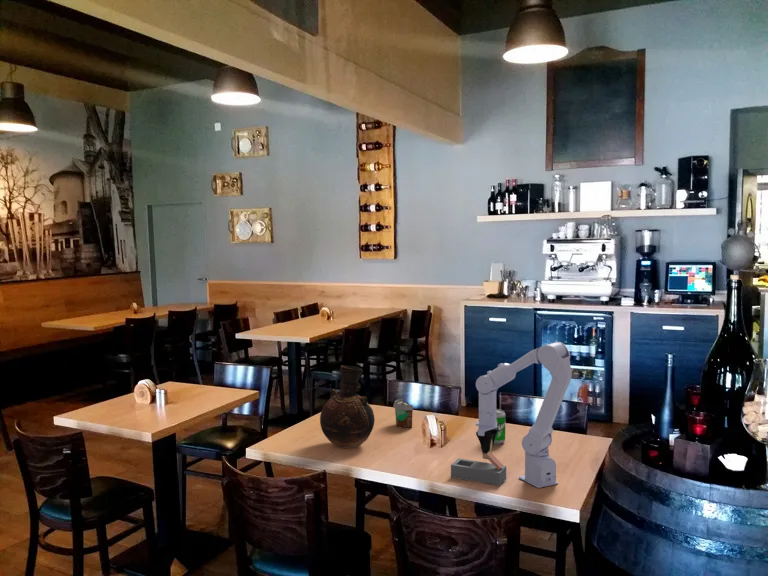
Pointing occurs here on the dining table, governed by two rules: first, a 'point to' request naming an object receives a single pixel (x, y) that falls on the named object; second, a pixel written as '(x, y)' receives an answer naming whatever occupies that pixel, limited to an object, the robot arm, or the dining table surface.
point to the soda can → (500, 427)
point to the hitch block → (478, 472)
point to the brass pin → (490, 451)
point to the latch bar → (494, 460)
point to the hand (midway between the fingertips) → (487, 451)
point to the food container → (403, 413)
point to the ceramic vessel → (347, 412)
